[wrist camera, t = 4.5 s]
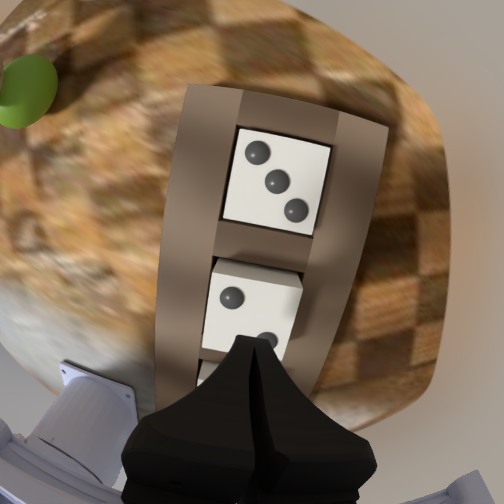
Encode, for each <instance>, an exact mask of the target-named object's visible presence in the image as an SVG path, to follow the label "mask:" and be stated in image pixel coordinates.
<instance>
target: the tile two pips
mask: <svg viewBox="0 0 504 504" xmlns="http://www.w3.org/2000/svg"><path fill="white" fill-rule="evenodd" d="M302 292H303V287H302V284H301V282H300V279H299V277H298V274H297V272H295V271H290V270H284V269H279V268H273V267H268V266H263V265H257V264H252V263H246V262H241V261H236V260H231V259H225V258H220V257H219V258H218V260H217V263H216V265H215V267H214V269H213V272H212V277H211V284H210V291H209V297H208V304H207V312H206V319H205V326H204V334H203V342H202V347H203V348H208V349H213V350H218V351H223V352H229V350H230V348H231V347H232V345H233V343H234V340H235V336H237V335H238V334H240V335H245V336H251V337H257V338H263V339H268V340H269V341H270V343H271V345H272V347H273V349H274V351H275V353H276V355H277V357H278V359H279V360H280V361H282V359H283V356H284V353H285V349H286V346H287V343H288V340H289V336H290V333H291V330H292V326H293V323H294V320H295V316H296V313H297V309H298V306H299V302H300V299H301V295H302Z"/></svg>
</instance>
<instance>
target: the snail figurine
mask: <svg viewBox="0 0 504 504" xmlns="http://www.w3.org/2000/svg"><path fill="white" fill-rule="evenodd" d="M57 88H58V76H57V72H56V69H55V67H54V66H53V64H52V63H51V62H50V61H49V60H48V59H47V58H45V57H43V56H40V55H25V56H22V57H19V58H17V59H15V60H14V61H12V62H11V63H9V64H8V65H7V66H6V67H5V68H4V69H3V61H2V54H1V51H0V124H2V125H3V126H5V127H8V128H14V129H17V128H23V127H27V126H29V125H31V124H33V123H35V122H36V121H38V120H39V119H40V118H41V117H42V116H43V115H44V114H45V113H46V112H47V111H48V109H49V108H50V106H51V105H52V103H53V101H54V99H55V96H56V93H57Z"/></svg>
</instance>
